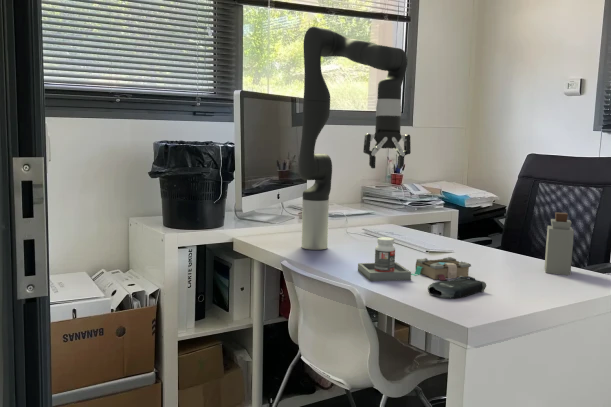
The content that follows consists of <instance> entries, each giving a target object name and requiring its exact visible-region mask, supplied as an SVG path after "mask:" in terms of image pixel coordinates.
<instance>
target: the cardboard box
mask: <svg viewBox="0 0 611 407" xmlns="http://www.w3.org/2000/svg"><path fill="white" fill-rule="evenodd" d="M470 267H472V264H471V263H468V262H466V261H464V262H463V261H462V260H461V261H459V260H457V258H454V257H451V256H448V257H443V258H440V259H428V258H427V257H424V258H417V259H416V262H415V272H414V273H411V276H415V277H416V276H420V275H423V276H425V277H427V278H430V279H431V280H433V281H436V280H440V281H449V279H458V278H459V277H460V276H464V277H468V278H469V277H470V275H469V269H470Z"/></svg>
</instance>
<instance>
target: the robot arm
mask: <svg viewBox="0 0 611 407" xmlns="http://www.w3.org/2000/svg"><path fill="white" fill-rule="evenodd" d="M302 49H303V65H304V66H303V69H304V81H303V82H304V86H303V101H302V102H303V104H302V128H301V129H302V130H301V140H300V147H299V155H298V164H297V165H298V174H299V176H300V178H301V179H302V180H304V181H314V183H313V185H312V186H310V187H308V188H307V189H305V190H304V191H303V192H302V201H301V202H302V204H301V205H302V207H301V208H302V209H301V211H302V213H301V215H302V216H301V248H302V249H304V250H305V249H306V250H310V251H311V250H313V251H315V250H317V251H318V250H319V251H320V250H326V249H328V247H329V246H328V240H329V211H330V210H329V205H330V204H329V202H330V193H331V189H332V176H333V162H332V159H331V156H330V155H328V154H327V153H315V148H316V142H317V139H318V137H319V136H320V134H321V131H323V129H324V127H325V126H326V124H327V122H328V121H329V118H330V112H331V93H330V90H329V88H328V86H327V83H326V80H325V78H324V76H323V72H322V57H324V58H328V57H340V58H345V59H348V60H350V61H351V62H354V63H357V64H361V65H364V66H368V67H371V68H373V69H376V70H380V71H384V72H387V75H386V77H385V78H384V79H380V81H379V82H378V84H377V98H376V99H377V100H376V101H377V102H376V107H375V127H374V128H375V129H374V131H375V132H374V134H371V133H365V135H364V140H363V153H364V154H366V155H368V156H369V163H368V164H369V167H370V168H371V169H376V162H377V161H376V156H375V155H376V154H377V152H378V151H380V149H392V150H394V151H395V152H396V153H397V169H401V170H402V169H403V167H404V166H405V156H407V155H410V154H411V151H412V150H411V146H412V145H411V135H410V134H404V135H402V134H401V127H402V126H401V124H402V123H401V122H402V120H401V119H402V85H403V82H404V79H405V75H406V72H407V68H408V57H407V53H406V52H405V50H404V49H403V48H399V47H394V46H388V45H383V44H382V45H381V44H377V43H374V42H371V41H366V40H362V39H353V38H350V37H347V36H344V35H342V34H340V33H338V32H336V31H334V30H333V29H331V28H326V27H325V28H323V27H319V26H311V27H309V28H307V30H306V31H305V33H304V37H303V48H302ZM373 139H374V141H375V142H376V143H375V144H373V146H372V148H371V142H372V141H373ZM400 141H402V142H403V149H402V147H401V145H400V143H399V142H400Z"/></svg>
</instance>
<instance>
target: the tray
mask: <svg viewBox="0 0 611 407" xmlns="http://www.w3.org/2000/svg"><path fill="white" fill-rule="evenodd" d="M357 272H358V273H360V274H361V275H362V276H363V277H364V278H365V279H366V280H368V281H369V282H388V281H411V280H412V275H411V274H412V271H411V270H409V269H407V268H406V267H404V266H402V265H401V264H400V263H398V262H396V261H395V268H394V272H375V262H358V263H357Z"/></svg>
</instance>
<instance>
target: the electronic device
mask: <svg viewBox="0 0 611 407" xmlns="http://www.w3.org/2000/svg"><path fill="white" fill-rule="evenodd" d="M486 288H487V282H485V281H481V280H477V279H476V278H475V277H473V276H469V277H464V276H460V277H459V278H452V279H451V280H440V281H436V282H435V281H434V282H432V283H430V284H429V285H428V286H427V291H428V293H429V296H433V297H436V298H441V299H460V298H464V297H467V296H470V295H474V294H476V293H478V292H482V293H483V292H484V291H485V289H486ZM437 291H439V292H438V295H434V294H433V292H437Z"/></svg>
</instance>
